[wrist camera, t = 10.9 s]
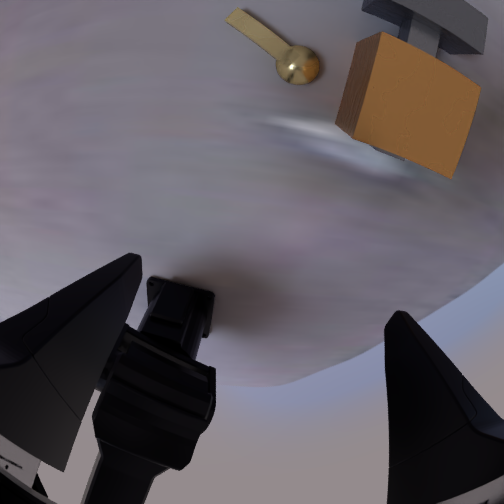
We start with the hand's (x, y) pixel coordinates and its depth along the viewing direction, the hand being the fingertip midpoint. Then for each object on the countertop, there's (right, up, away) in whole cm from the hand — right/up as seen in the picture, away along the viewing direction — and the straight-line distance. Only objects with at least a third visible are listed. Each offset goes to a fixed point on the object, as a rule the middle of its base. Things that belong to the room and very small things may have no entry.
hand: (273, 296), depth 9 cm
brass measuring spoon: (0, +15, +5) cm, 15 cm away
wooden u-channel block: (+8, +11, +6) cm, 15 cm away
